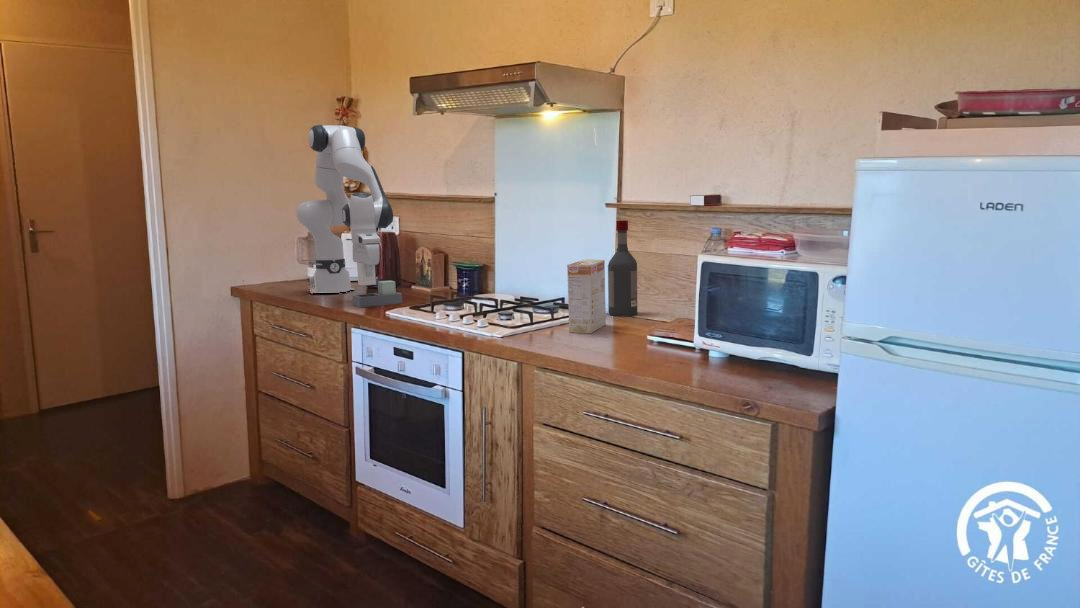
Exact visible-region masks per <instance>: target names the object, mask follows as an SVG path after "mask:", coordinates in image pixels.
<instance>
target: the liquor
mask: <svg viewBox="0 0 1080 608" xmlns="http://www.w3.org/2000/svg"><path fill="white" fill-rule="evenodd" d="M615 222H616V224H615V225H616V226H615V227H616V231H617V248H616V252H615V253H614V254H613V255H612V257H611V258H610V260H609V261H608V263H607V264H608V265H607V291H608V292H607V295H608V299H607V301H608V308H607V309H608V314H609V316H613V317H632V316H636V315H637V314H638V262H637V260H636V258H635V257H634V256H633V255H632V254H631V252H630V251H629V248H628V231H629V220H616V221H615Z"/></svg>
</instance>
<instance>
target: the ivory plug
mask: <svg viewBox="0 0 1080 608" xmlns="http://www.w3.org/2000/svg"><path fill="white" fill-rule="evenodd" d="M356 270H357V282H358V285H359V286H373V285H375V286H376V285H377V279H376V278H377V277H376V265H373V270H372V276H371V277H368V276H366V272H367V267H366V264H363V263H357V262H356Z"/></svg>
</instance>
